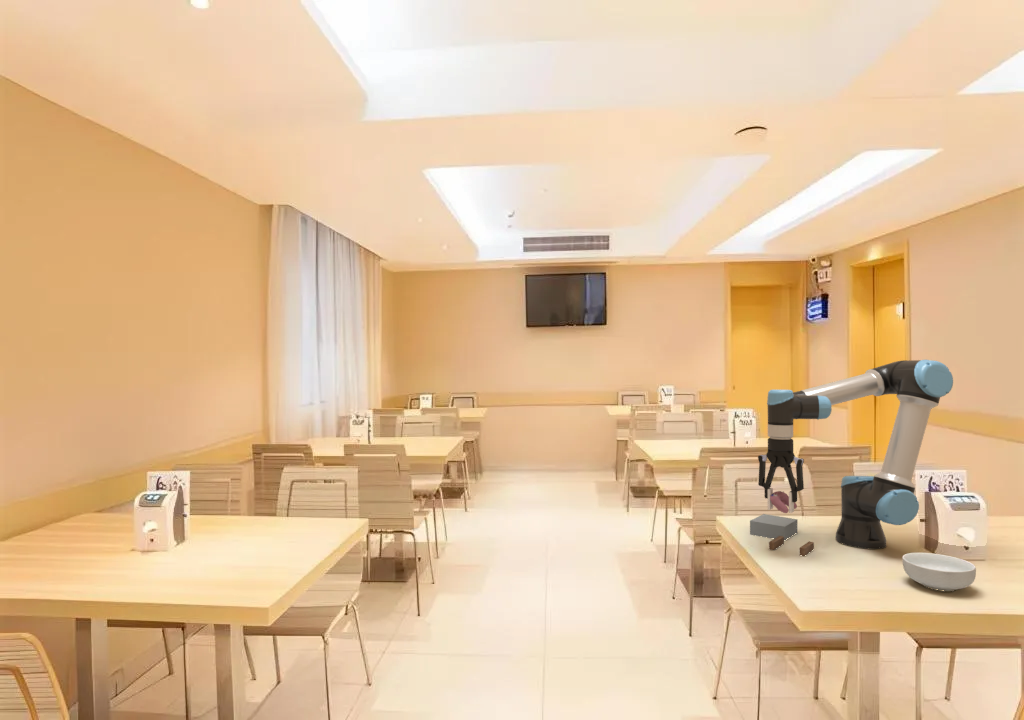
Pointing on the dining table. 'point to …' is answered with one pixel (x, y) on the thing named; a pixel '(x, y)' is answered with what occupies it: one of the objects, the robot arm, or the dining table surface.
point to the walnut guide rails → (780, 540)
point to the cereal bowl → (939, 571)
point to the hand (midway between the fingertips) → (780, 510)
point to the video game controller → (781, 501)
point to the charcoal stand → (773, 526)
